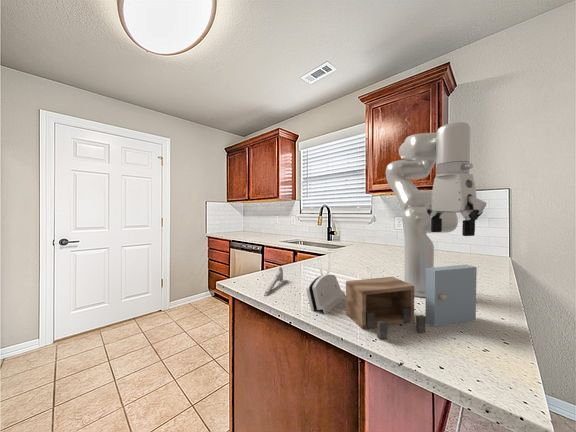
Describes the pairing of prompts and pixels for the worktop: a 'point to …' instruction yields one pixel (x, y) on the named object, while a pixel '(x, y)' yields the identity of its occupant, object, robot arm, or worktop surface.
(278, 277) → the caliper
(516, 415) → the worktop surface
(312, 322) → the worktop surface
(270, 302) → the worktop surface
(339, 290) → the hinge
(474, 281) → the door
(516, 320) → the worktop surface
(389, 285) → the cabinet
